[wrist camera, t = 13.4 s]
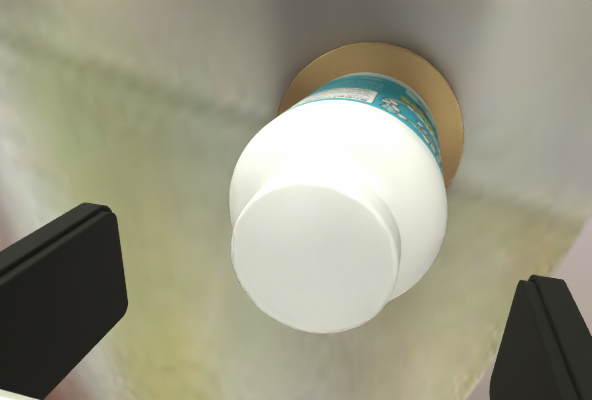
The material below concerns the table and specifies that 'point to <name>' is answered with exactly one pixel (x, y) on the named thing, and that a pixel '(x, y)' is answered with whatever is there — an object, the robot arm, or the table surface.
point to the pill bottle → (339, 204)
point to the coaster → (399, 67)
